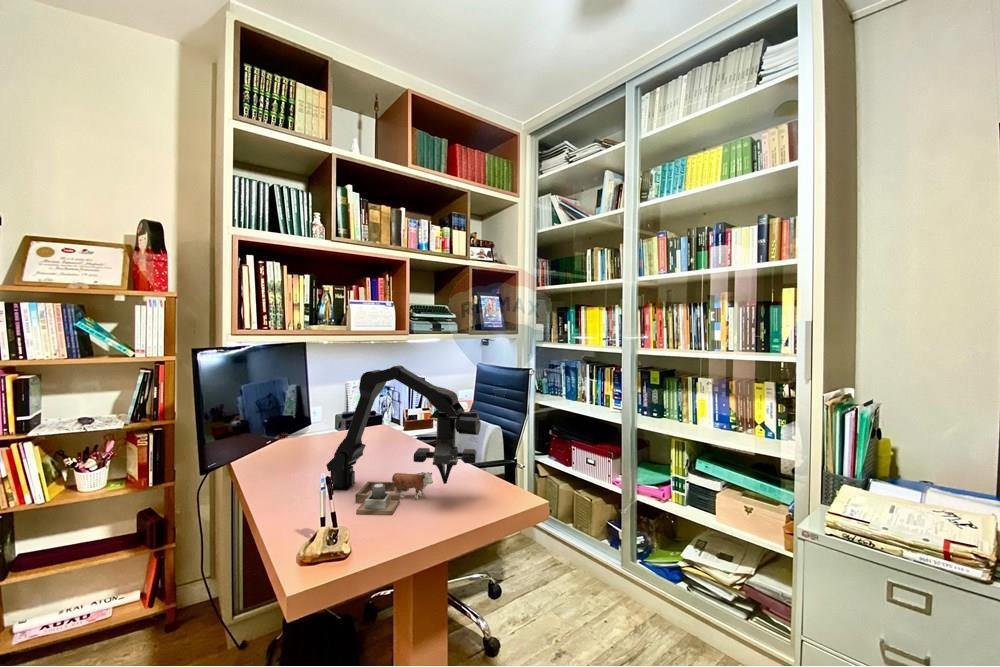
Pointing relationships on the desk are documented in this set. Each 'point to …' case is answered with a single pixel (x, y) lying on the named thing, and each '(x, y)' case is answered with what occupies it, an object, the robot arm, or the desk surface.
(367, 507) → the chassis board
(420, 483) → the bull figurine
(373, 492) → the cylinder
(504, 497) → the desk surface
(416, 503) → the desk surface
